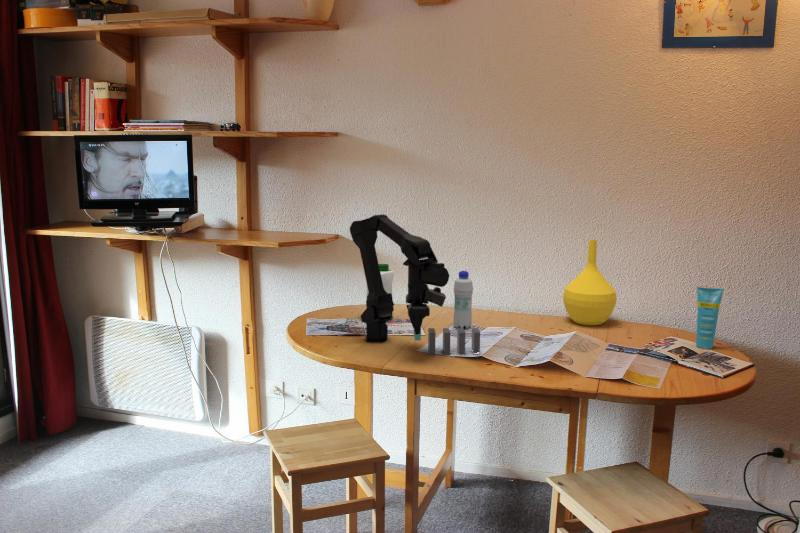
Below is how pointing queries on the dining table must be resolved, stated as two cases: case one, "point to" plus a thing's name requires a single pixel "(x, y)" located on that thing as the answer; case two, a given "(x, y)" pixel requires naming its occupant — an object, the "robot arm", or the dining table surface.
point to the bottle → (463, 300)
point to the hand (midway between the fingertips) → (416, 331)
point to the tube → (707, 315)
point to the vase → (589, 294)
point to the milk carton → (385, 279)
